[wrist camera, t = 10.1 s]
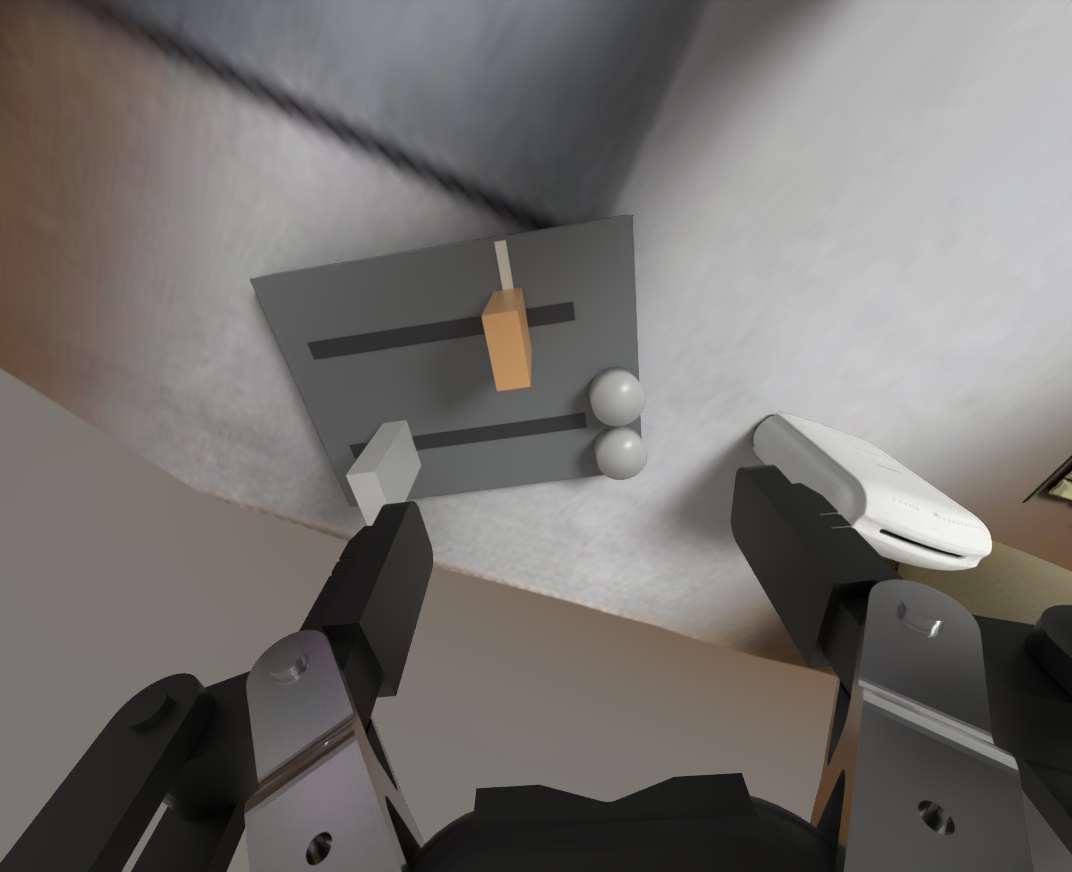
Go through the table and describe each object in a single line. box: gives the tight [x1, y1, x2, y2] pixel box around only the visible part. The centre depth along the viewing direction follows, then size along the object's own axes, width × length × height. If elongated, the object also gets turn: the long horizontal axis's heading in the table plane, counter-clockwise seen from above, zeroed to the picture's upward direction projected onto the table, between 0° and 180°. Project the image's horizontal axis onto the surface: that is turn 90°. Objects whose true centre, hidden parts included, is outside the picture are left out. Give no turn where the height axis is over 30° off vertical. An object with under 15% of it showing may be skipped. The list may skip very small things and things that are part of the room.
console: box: [250, 215, 647, 526], centre depth 28 cm, size 18×24×9 cm
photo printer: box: [753, 413, 992, 571], centre depth 29 cm, size 10×4×12 cm, turn 70°
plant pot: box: [898, 540, 1072, 625], centre depth 34 cm, size 15×15×16 cm
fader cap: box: [481, 287, 532, 391], centre depth 25 cm, size 4×2×7 cm, turn 9°
